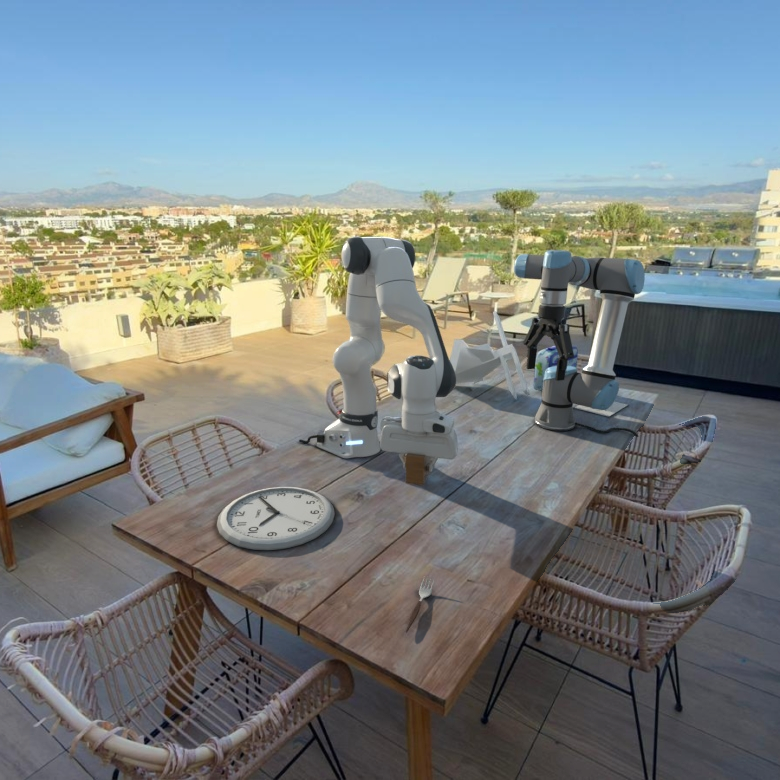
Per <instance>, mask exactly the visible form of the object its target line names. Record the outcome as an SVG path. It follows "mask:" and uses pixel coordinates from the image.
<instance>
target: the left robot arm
mask: <svg viewBox="0 0 780 780" xmlns="http://www.w3.org/2000/svg"><path fill="white" fill-rule="evenodd" d="M340 258H341V264H342V267H343V268H344V270H345V271H346V272H347V273H348V274H349V275H348V279H347V287H346V288H347V290H346V303H345V319H346V321H347V323H348V326H349V333H350V336H349V339H348V340H346V341H343V342H341V344H340V345H339V346H338V347H337V348H336V349H335V350H334V352H333V354H332V364H333V367H334V369H335V370H336V371H337V373H338V374H339V378H340V381H341V385H342V396H343V398H342V402H343V404H342V405H343V407H342V408H341V409H340V410H338V411H337V412H336V413H337V414H336V415H337V416H338V415H339V417H338V418H337V419H336V420H334V421H333V422H331V423H330V424H329V425H328V426H326V427H325V429H324V430H318V431H317V434H314V435H310V436H308V437H307V439H306V440H304V439H299V441H298V442H299V443H301V444H302V443H303V444H309V443H310V442H311V439H316V447H317V448H319V449H322V450H324V451H326V452H329V453H331V454H333V455H335V456H338V457H340V458H343V459H352V458H364V457H365V458H366V457H371V456H374V455H376V454H378V453H380V452H381V451H383V452H389V453H396V454H398V457H399V459H400V461H401V463H402V468H403V469H406V455H407V453H411V454H419V455H425V456H427V457H430V460H432V462H431V463H427V465H426V471H428V472H430V473H432V472H433V469H434V466H433V464H434V462H435V461H436V459H437V458H438V459H444V460H451V461H452V460H454V459H455V458H456V457H457V456H458V449H459V448H458V447H459V445H458V435H457V431H456V430H455V429H454V425H455V420H454V418H453V417H451V416H448V415H447V414H446V415H445V414H443V413H441V412H438V411H437V404H436V398H446V397H447V396H449V395H450V394H451V392H453V390H454V389H455V387H456V385H457V384H456V375H455V371H454V368H453V366H452V364H451V362H450V357H449V355H448V353H447V349H446V346H445V342H444V341H443V337H442V336H443V335H442V334H441V331H440V330H441V329H440V327H439V323H438V322H437V319H436V316H435V313H434V310H433V308H432V307H431V306H430V304H428V303H426V302H425V301H424V300H423V299H422V297H421V295H420V294H419V292H418V289H417V283H416V278H415V273H414V270H413V269H414V267H415V263H416V251H415V247H414V246H413V243H411V242H410V241H408V240H405V239H402V238H398V239H397V238H393V237H387V236H386V237H385V236H363V237H361V236H351V237H349V238H347V239H346V240H345V241H344V243H343V245H342V247H341V253H340ZM382 313H383V314H384V315H385V316H386V317H388V318H389V319H391V320H393V321H396V322H399V323H402V324H406V325H408V326H410V327H413V328H414V329H416V330H417V331H418V332H419V333H420V334H421V336H422V338H423V342H424V344H425V348H426V351H427V354H428V356H425V355H411V356H408V357H406V358H405V359H404V362H399V363H396V364H393V365H392V366H391V367H390V368H389V369H388V371H387V373H386V374H387V375H386V386H387V387H386V388H387V391H388V393H389V394H390V395H392V396H393V397H394V398H396V399H397V400H401V401H402V405H401V417H392V416H385V417H383V418H382V419H380V423H378V422H379V414H378V413H379V411H378V408H377V395H378V393H377V390H378V389H377V386H376V385H375V383H374V381H373V376H372V367H374V366H375V365H376V364H378V363H379V362H380V361H381V359H382V357H383V355H384V354H385V351H386V344H385V342H384V340H383V336H382V326H381V325H382V324H381V316H382ZM378 424H379V426H380V427H379V428H380V431H381V433H380V440H379V434H378ZM438 459H437V460H438ZM436 462H437V461H436Z"/></svg>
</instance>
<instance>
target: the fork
mask: <svg viewBox="0 0 780 780" xmlns="http://www.w3.org/2000/svg"><path fill="white" fill-rule="evenodd" d="M435 577H436V576H434V577H433V580H432V577H429V576H427V577H426V574H424V575H423V579H422V581H421V585H420V588H419V589H418V594H419V597H420V598H419V600H418V602H417V604H416V605H415V606H414V608H413V609H412V611H411V615H410V618H409V620H408V621H409V622H408V623H407V627H406V630H405V633H408V632H409V630H410V629H411V627H412V625H413V624H414V621H415V620H416V618H417V617H418V615H419V613H420V608H421V605H422V603H423V602H422V601H423V599H425V598H428V597H430V596H431V595H432V592H433V588H434V583H435ZM425 578H426V581H425ZM429 578H430V579H429ZM428 579H429V582H428ZM431 581H432V583H431ZM424 582H425V583H424Z"/></svg>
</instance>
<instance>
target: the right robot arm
mask: <svg viewBox="0 0 780 780" xmlns="http://www.w3.org/2000/svg"><path fill="white" fill-rule="evenodd" d="M513 271H514V275H515V276H516V277H517V278H519V279H525V280H526V279H527V280H541V282H540V283H541V286H540V293H539V305H538V311H537V317H533V318H532V320H531V325H530V327H529V328H528V332H527V333H526V336H525V338H524V340H523V343H522V344H523V345H524V346H526V348H527V353H526V358H527V360H526V370H534V369H535V363H536V357H537V354H538V353H537V352H538V348H537V345H538V344H539V343H540V342H541V340H543V338H544V337H545V336H547V337H549V338H550V340H552V342H553V344H554V346H556V349H557V351H558V354H559V357H560V358H558V361H557V366H554V367H550V368H548V369H546V371H545V375H544V379H543V380H544V381H543V391H541V392H542V394H541V402H540V405H539V407H538V410H537V411H536V413H535V417H534V424H535V425H536V426H537V427H539V428H542V429H544V430H549V431H556V432H567V431H572V430H574V429H575V428H576V426H579V427H582V428H586V429H589V430H592V431H594V432H596V433H599V434H607V433H610V432H611V431H624V432H629V433H631V434H632V435H633V436H634V437H636V438H639V437H640V436H639V435H638V433H637V432H636V431H634V430H633V429H630V428H627V427H610V428H608V429H605V430H602V429H598V428H596V427H593V426H590V425H587V424H584V423H580V422H577V421H576V418H575V417H576V416H575V413H574V407H573V405H574V404H575V405H577V406H578V405H582V406H586V407H590V408H592V409H599V410H606V409H608V408H609V407H610V406H611V405H612V404H613V402H616V399H617V396H618V394H619V390H620V382H619V381H618V379H616V376H617V375H616V373H615V371H614V365H615V362H616V357H617V353H618V348H619V344H620V339H621V336H622V331H623V327H624V323H625V320H626V319H625V318H626V314H627V310H628V306H629V304H630V303H631V302H633V301H634V300H635V297H636V295H639V294H641V293H642V291H643V289H644V286H645V279H646V277H645V268H644V265H643V263H642V261H640V260H638V259H633V258H621V257H619V258H618V257H616V258H615V257H586V258H585V257H583V256H580V255H574V256H572V253H571V251H570V250H556V249H555V250H551V249H549V250H546V251H545V252H544V255H543V254H530V253H527V254H526V253H525V254H523V253H522V254H519V255H518V256H517V257H516V258H515V261H514V265H513ZM569 284H570V285H572V286H576V287H581V288H585V289H589V290H594V291H599V296H600V298H601V300H602V301H601V306H600V309H599V313H598V319H597V324H596V328H595V332H594V335H593V336H594V337H593V340H592V346H591V349H590V354H589V359H588V362H587V365H586V366H584V367H583V368H582V369H581V372H578V368H577V366H576V367H573V366H567V363H568V359H570V358H574V353H573V348H572V347H573V343H572V339H571V335H570V324H568V323H565V324H562V321H563V319H564V318H565V315H566V314H565V312H566V306H565V305H566V304H567V299H568V290H569V289H568V288H569ZM563 354H564V355H563Z"/></svg>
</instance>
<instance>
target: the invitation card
mask: <svg viewBox="0 0 780 780" xmlns="http://www.w3.org/2000/svg"><path fill="white" fill-rule="evenodd" d="M628 406H629V404H627V403H623V402H618V401H614V402H613V404H612V405H611V406H610V407H609V408H608V409H606V410H599V409H592V408H590V407H586V406H582V405H578V404H577V405H575V406H574V407H573V409H575V410H581V411H584V412H587V413H593V414H596V415H600V416H604V417H608V418H609V417H611V416H613V415H614V414H616V413H617V412H619V411H621V410H623V409H624V408H626V407H628Z"/></svg>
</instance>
